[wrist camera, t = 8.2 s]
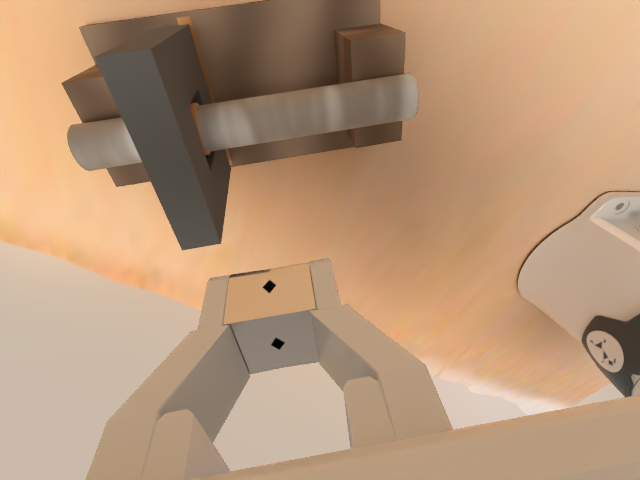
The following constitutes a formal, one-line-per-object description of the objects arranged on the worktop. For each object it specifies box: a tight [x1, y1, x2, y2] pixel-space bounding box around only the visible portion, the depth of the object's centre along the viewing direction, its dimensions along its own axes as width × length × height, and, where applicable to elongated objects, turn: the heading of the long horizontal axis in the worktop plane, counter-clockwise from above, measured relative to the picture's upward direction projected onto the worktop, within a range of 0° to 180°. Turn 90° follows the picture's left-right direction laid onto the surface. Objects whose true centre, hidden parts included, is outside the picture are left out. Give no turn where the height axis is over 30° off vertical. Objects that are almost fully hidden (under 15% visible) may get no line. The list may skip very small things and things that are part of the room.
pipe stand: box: [62, 0, 418, 187], centre depth 21 cm, size 18×10×8 cm, turn 96°
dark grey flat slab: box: [94, 24, 231, 250], centre depth 19 cm, size 2×9×9 cm, turn 6°
